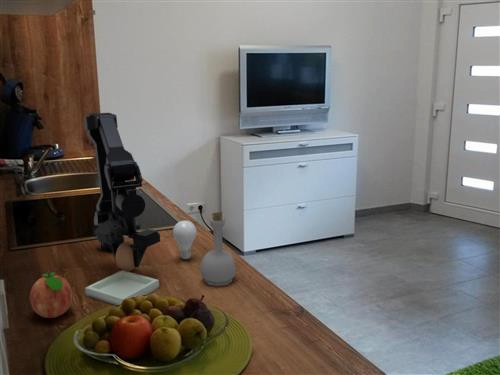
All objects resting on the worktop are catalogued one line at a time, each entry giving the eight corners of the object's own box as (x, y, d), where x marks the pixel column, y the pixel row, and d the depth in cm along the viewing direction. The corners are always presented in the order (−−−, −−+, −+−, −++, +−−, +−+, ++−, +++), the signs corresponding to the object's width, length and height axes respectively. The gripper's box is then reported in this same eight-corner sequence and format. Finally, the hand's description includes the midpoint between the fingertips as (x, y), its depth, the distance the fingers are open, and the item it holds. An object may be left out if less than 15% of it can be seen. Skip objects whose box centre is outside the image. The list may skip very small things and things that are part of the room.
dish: (85, 295, 123) (85, 287, 122) (122, 277, 133) (122, 270, 132) (123, 307, 117) (122, 299, 116) (159, 287, 127) (158, 280, 126)
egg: (111, 273, 135) (109, 244, 134) (124, 265, 141) (122, 237, 139) (131, 276, 133) (129, 247, 132) (144, 267, 139) (142, 239, 137)
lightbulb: (193, 264, 141) (191, 225, 138) (170, 262, 142) (169, 223, 140) (200, 255, 147) (198, 218, 144) (178, 254, 148) (177, 216, 146)
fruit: (32, 328, 108) (27, 283, 106) (31, 308, 117) (26, 266, 114) (76, 319, 112) (72, 276, 109) (71, 301, 120) (67, 260, 118)
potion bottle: (210, 290, 125) (207, 218, 121) (196, 277, 133) (193, 208, 128) (242, 283, 129) (241, 213, 125) (227, 270, 137) (226, 204, 132)
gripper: (73, 209, 131) (78, 268, 135) (128, 221, 122) (132, 283, 125) (106, 199, 140) (110, 254, 144) (160, 209, 131) (163, 267, 135)
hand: (127, 264), depth 137 cm, fingers closed on egg, 6 cm apart
